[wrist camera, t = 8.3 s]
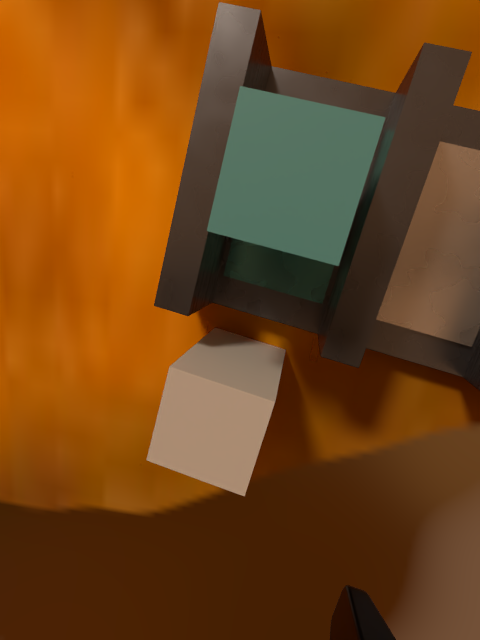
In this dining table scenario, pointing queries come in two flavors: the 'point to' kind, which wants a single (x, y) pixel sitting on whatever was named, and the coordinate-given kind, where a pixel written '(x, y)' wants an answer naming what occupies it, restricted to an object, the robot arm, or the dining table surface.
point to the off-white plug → (217, 409)
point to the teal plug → (293, 174)
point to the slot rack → (369, 221)
